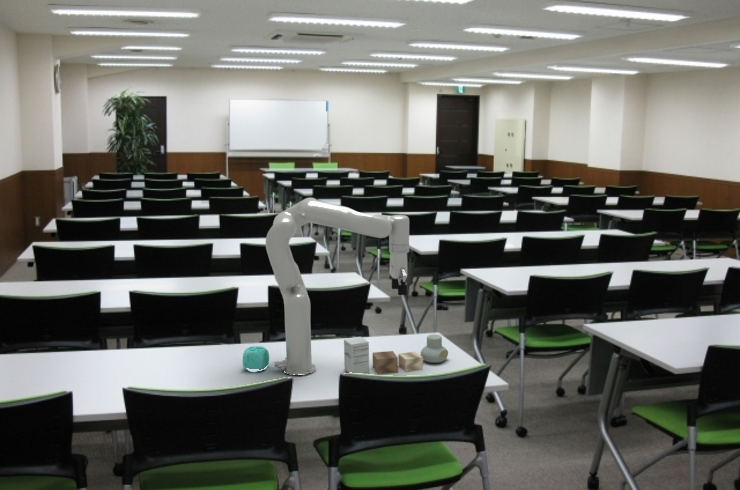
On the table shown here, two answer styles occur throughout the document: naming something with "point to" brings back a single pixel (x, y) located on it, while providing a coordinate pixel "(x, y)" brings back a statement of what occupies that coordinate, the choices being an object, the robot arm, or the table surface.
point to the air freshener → (434, 350)
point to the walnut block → (385, 362)
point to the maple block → (410, 361)
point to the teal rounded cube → (255, 357)
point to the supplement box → (356, 355)
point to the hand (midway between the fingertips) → (398, 291)
